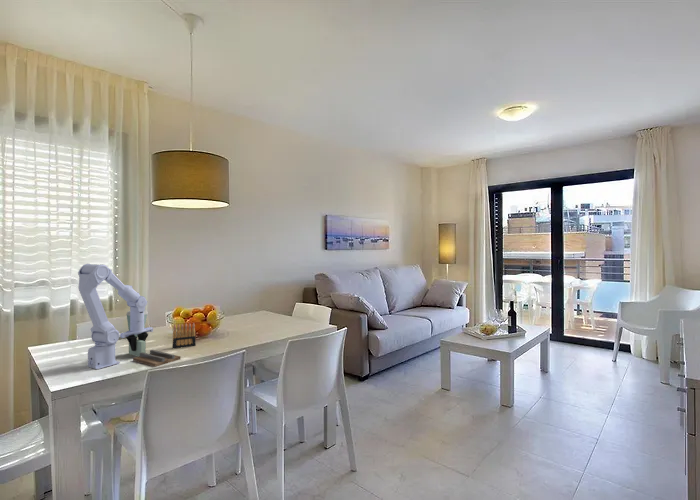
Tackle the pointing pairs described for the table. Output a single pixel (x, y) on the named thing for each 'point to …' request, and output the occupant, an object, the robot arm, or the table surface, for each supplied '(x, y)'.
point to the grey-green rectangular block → (138, 348)
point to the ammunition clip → (184, 336)
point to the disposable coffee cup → (129, 319)
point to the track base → (156, 358)
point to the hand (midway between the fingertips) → (137, 349)
